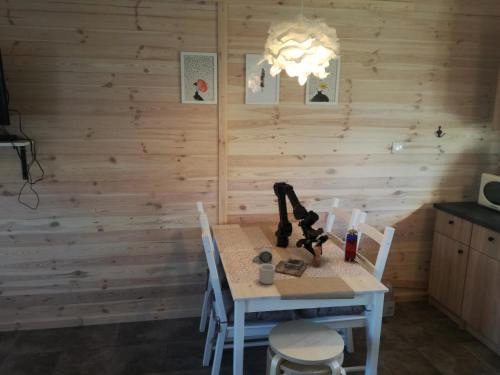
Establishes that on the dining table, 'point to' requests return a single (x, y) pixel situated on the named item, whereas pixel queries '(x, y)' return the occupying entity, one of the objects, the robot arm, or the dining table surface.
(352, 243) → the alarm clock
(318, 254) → the peg
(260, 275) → the cup
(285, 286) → the dining table surface
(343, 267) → the dining table surface
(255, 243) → the dining table surface
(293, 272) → the socket board
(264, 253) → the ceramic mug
